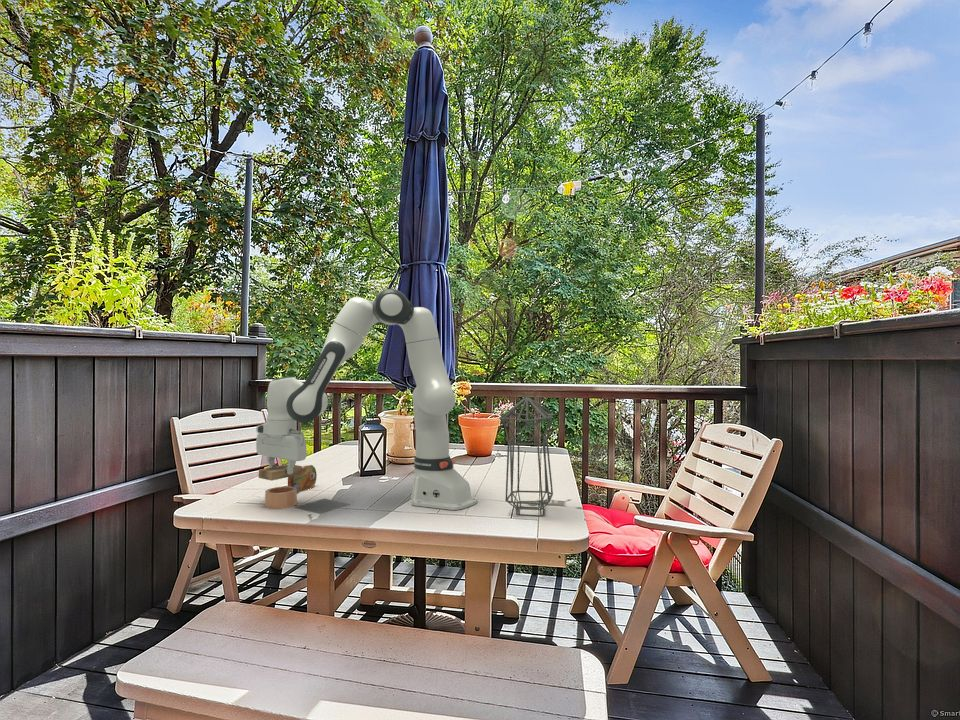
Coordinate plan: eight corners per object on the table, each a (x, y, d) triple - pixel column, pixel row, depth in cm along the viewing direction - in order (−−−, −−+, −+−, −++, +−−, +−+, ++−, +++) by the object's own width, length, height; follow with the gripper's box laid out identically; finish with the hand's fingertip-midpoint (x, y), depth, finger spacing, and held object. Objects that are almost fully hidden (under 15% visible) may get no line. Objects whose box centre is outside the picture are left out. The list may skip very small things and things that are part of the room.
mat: (350, 505, 156) (350, 504, 156) (320, 515, 146) (320, 513, 146) (324, 500, 163) (324, 498, 163) (293, 509, 153) (293, 507, 153)
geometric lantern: (553, 522, 142) (551, 399, 142) (499, 519, 145) (496, 399, 145) (557, 506, 157) (555, 395, 157) (508, 503, 160) (505, 395, 160)
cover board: (302, 474, 159) (302, 466, 159) (271, 480, 149) (271, 472, 149) (288, 471, 162) (289, 464, 162) (258, 477, 153) (258, 469, 153)
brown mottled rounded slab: (294, 496, 167) (294, 471, 167) (285, 496, 168) (285, 471, 168) (317, 486, 182) (317, 463, 182) (309, 485, 182) (309, 462, 182)
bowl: (302, 504, 157) (302, 488, 157) (277, 511, 150) (277, 495, 150) (284, 500, 162) (284, 485, 162) (259, 507, 154) (259, 491, 154)
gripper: (312, 429, 153) (311, 474, 153) (270, 425, 164) (269, 466, 164) (294, 431, 148) (294, 478, 148) (252, 426, 158) (252, 470, 158)
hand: (280, 472), depth 156 cm, fingers closed on cover board, 6 cm apart
